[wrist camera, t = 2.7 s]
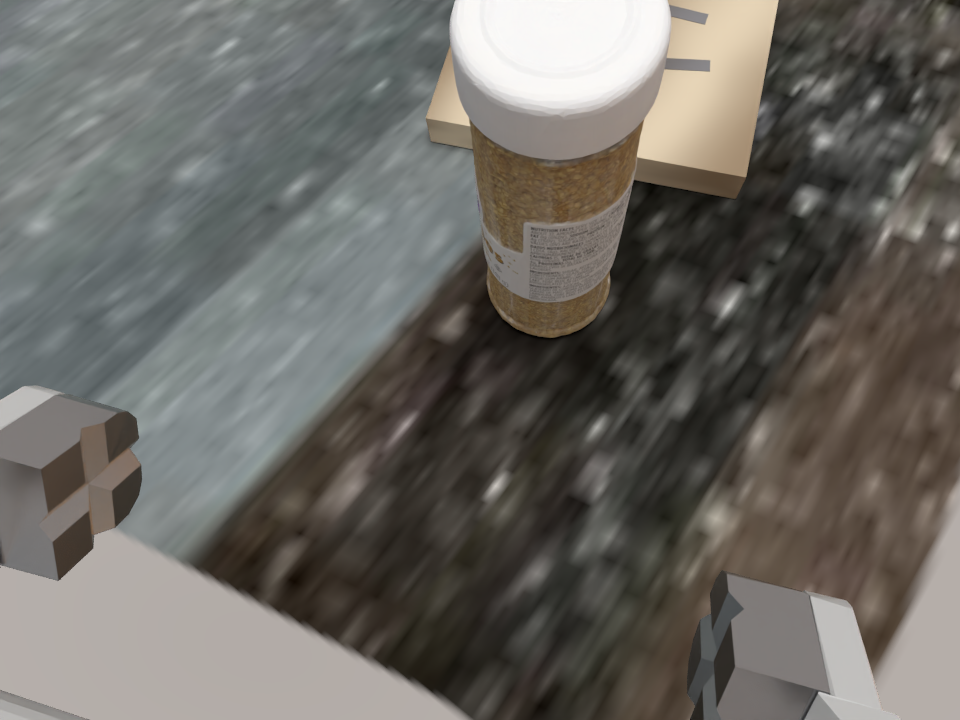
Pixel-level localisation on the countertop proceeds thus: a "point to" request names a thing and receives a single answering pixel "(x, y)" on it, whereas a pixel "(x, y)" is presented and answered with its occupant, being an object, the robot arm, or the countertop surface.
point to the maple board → (679, 98)
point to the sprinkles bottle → (555, 143)
